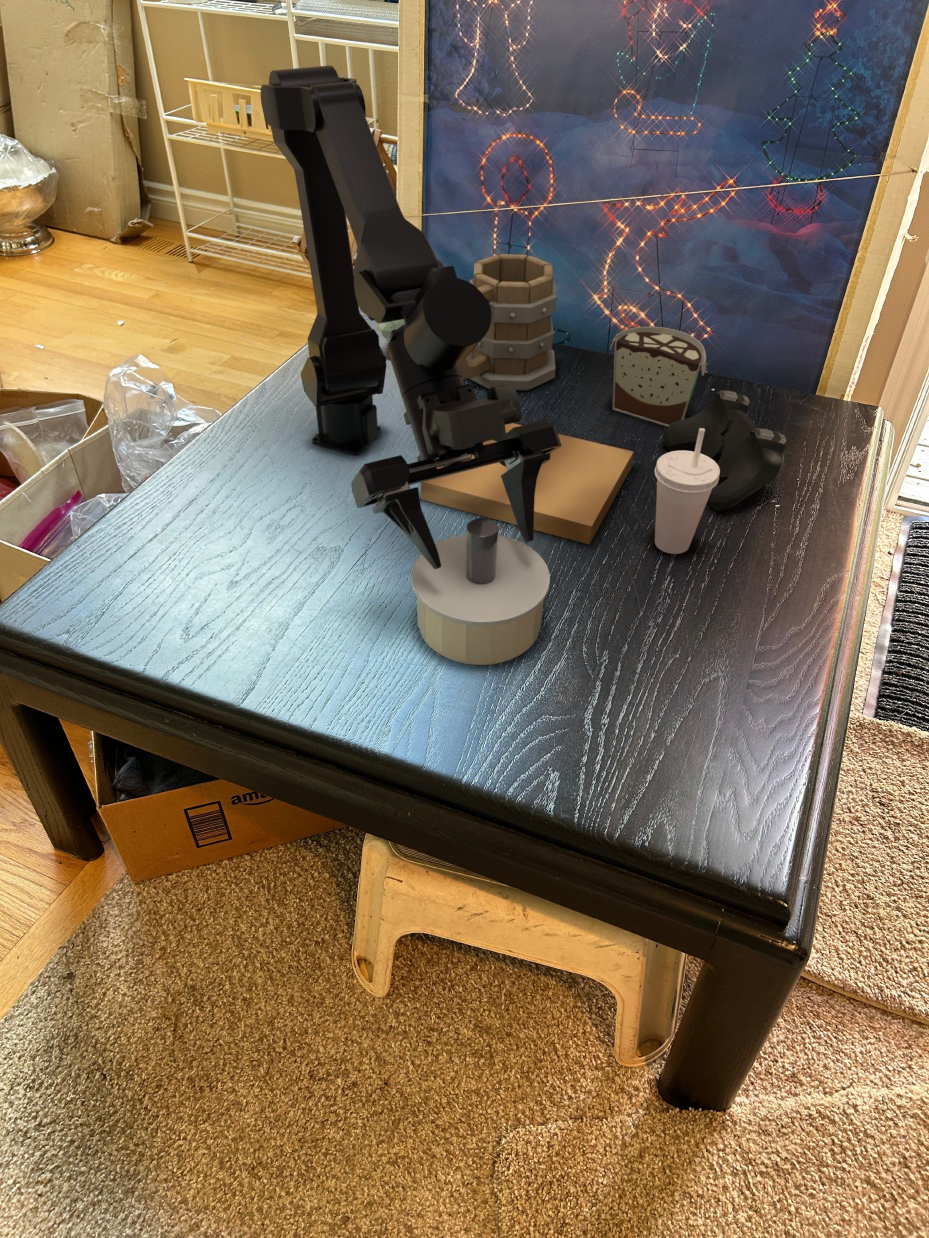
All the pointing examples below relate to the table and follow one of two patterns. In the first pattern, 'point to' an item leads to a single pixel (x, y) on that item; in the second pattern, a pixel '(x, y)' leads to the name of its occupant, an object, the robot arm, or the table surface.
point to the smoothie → (682, 495)
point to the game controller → (731, 447)
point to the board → (544, 488)
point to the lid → (482, 577)
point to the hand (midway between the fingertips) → (484, 554)
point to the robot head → (389, 328)
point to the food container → (655, 373)
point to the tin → (478, 637)
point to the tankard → (514, 323)
